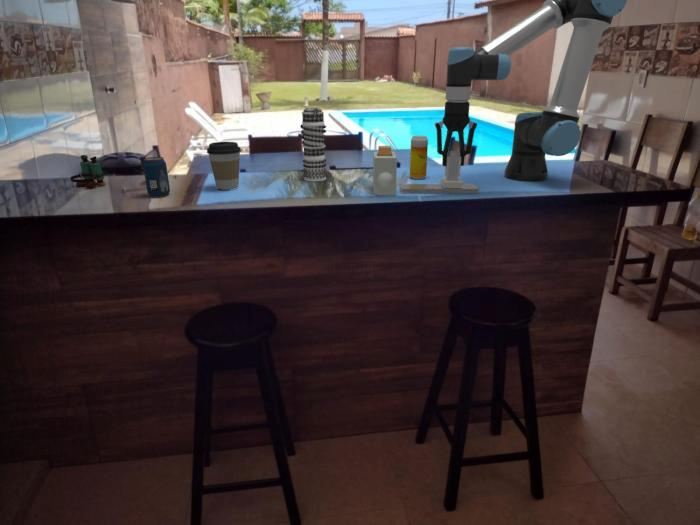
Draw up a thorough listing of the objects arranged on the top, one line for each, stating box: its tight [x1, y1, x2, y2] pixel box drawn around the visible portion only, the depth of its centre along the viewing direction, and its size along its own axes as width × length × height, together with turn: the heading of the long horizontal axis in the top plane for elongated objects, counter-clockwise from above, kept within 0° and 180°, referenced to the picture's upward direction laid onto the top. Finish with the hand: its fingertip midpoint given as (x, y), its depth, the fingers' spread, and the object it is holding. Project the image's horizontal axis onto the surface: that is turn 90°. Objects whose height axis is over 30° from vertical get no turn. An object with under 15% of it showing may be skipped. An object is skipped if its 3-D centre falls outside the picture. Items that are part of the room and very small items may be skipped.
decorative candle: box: [299, 107, 327, 182], centre depth 179 cm, size 9×9×25 cm
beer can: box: [409, 135, 429, 180], centre depth 181 cm, size 6×6×15 cm
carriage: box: [440, 150, 464, 188], centre depth 163 cm, size 6×7×11 cm
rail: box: [399, 183, 479, 194], centre depth 165 cm, size 25×7×2 cm, turn 89°
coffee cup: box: [206, 141, 242, 191], centre depth 168 cm, size 11×11×15 cm
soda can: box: [142, 156, 171, 198], centre depth 160 cm, size 7×7×12 cm
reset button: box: [377, 145, 392, 156], centre depth 161 cm, size 4×4×5 cm
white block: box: [372, 151, 398, 196], centre depth 163 cm, size 7×12×12 cm, turn 179°
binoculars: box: [70, 154, 106, 190], centre depth 172 cm, size 9×11×10 cm
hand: (452, 175), depth 164 cm, fingers closed on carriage, 3 cm apart
